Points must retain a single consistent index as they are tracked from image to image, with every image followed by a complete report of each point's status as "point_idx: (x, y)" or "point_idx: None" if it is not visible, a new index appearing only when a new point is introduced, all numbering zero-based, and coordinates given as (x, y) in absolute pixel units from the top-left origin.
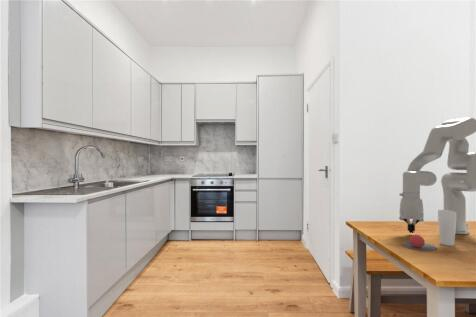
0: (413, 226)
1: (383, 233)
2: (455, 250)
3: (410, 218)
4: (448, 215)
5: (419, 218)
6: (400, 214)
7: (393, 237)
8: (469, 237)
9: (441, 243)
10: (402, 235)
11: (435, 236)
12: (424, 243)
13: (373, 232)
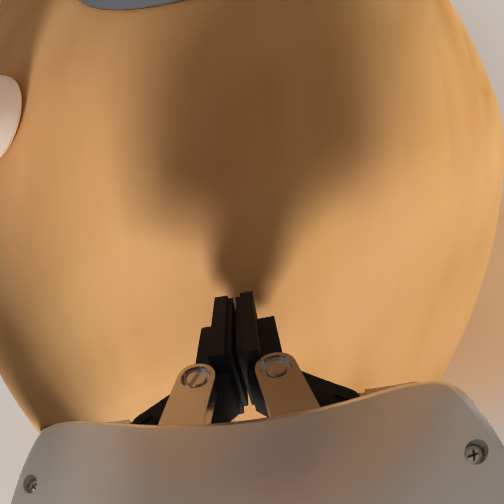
0: (209, 342)
1: (449, 232)
2: (2, 19)
3: (257, 419)
4: None
5: (80, 428)
6: (482, 419)
7: (387, 101)
8: (10, 387)
9: (17, 85)
10: (317, 246)
11: (86, 356)
12: (121, 3)
13: (490, 226)
